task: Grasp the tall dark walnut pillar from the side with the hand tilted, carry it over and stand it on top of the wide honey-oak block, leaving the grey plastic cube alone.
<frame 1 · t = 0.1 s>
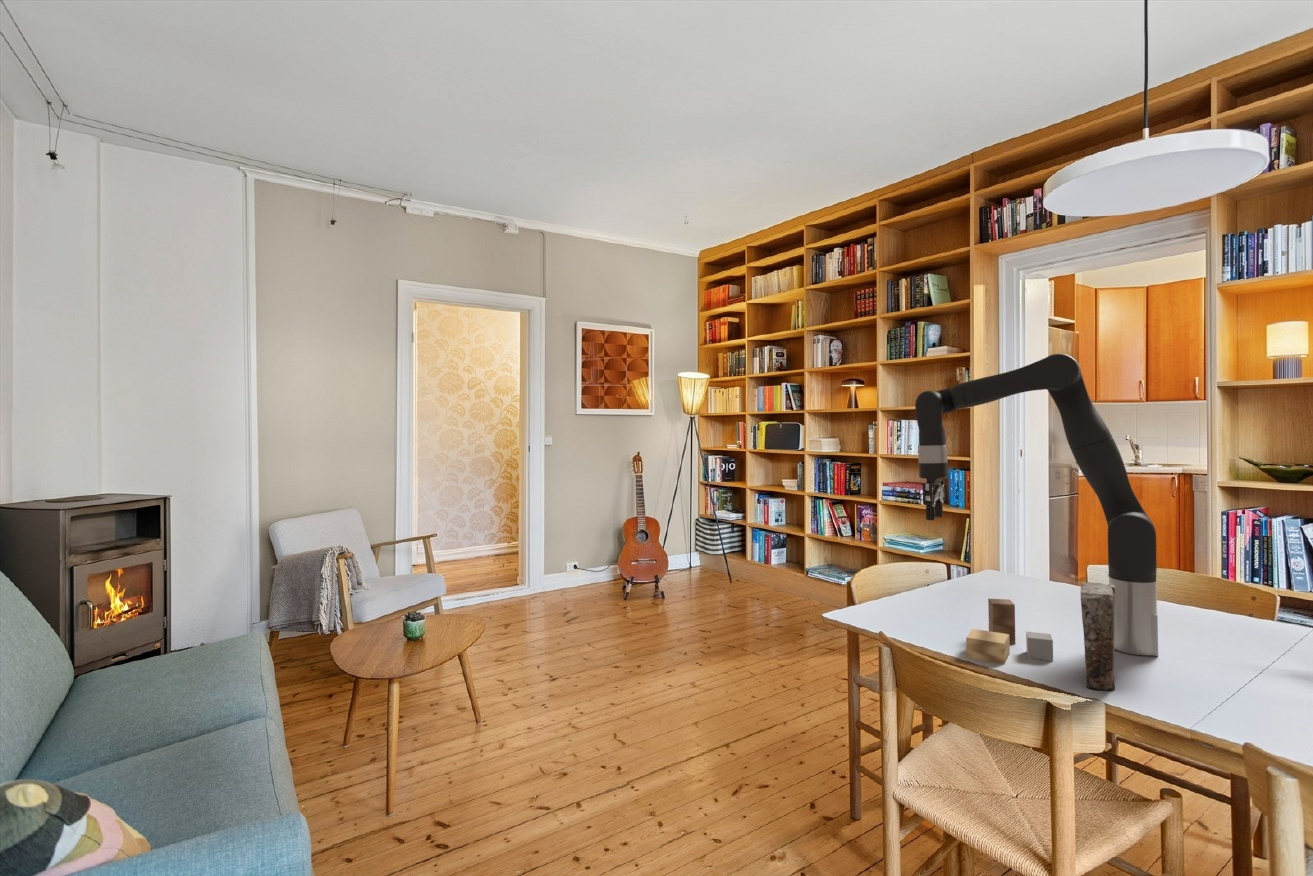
hand: (934, 518, 179), 29 cm above the table, tool pointing down, fingers open, 8 cm apart
oak block: (988, 656, 151), on the table
grey cube: (1039, 656, 150), on the table
stone block: (1100, 681, 135), on the table
walnut pillar: (1001, 640, 162), on the table
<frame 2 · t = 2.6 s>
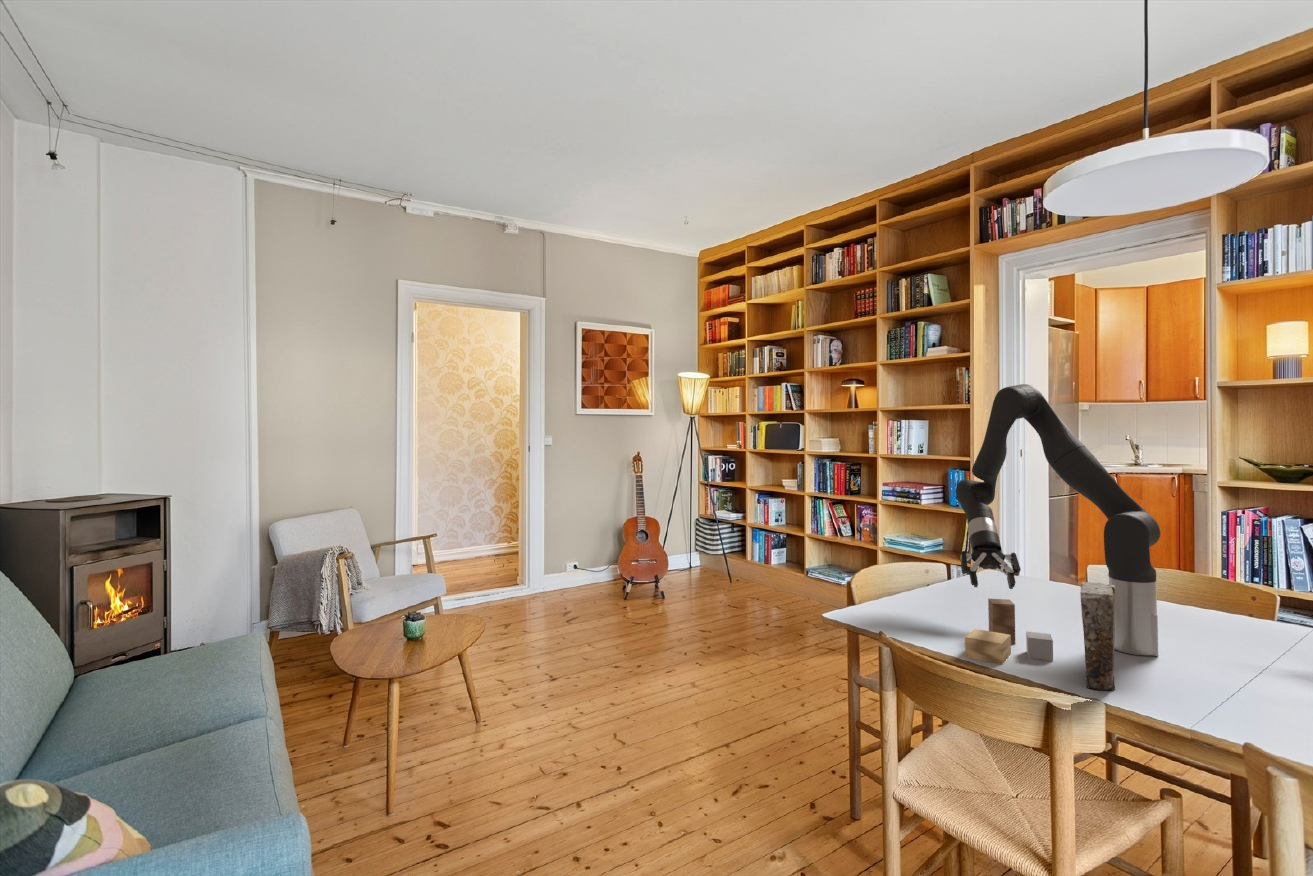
hand: (993, 586, 169), 12 cm above the table, tool tilted 45°, fingers open, 8 cm apart
nothing on the table moved.
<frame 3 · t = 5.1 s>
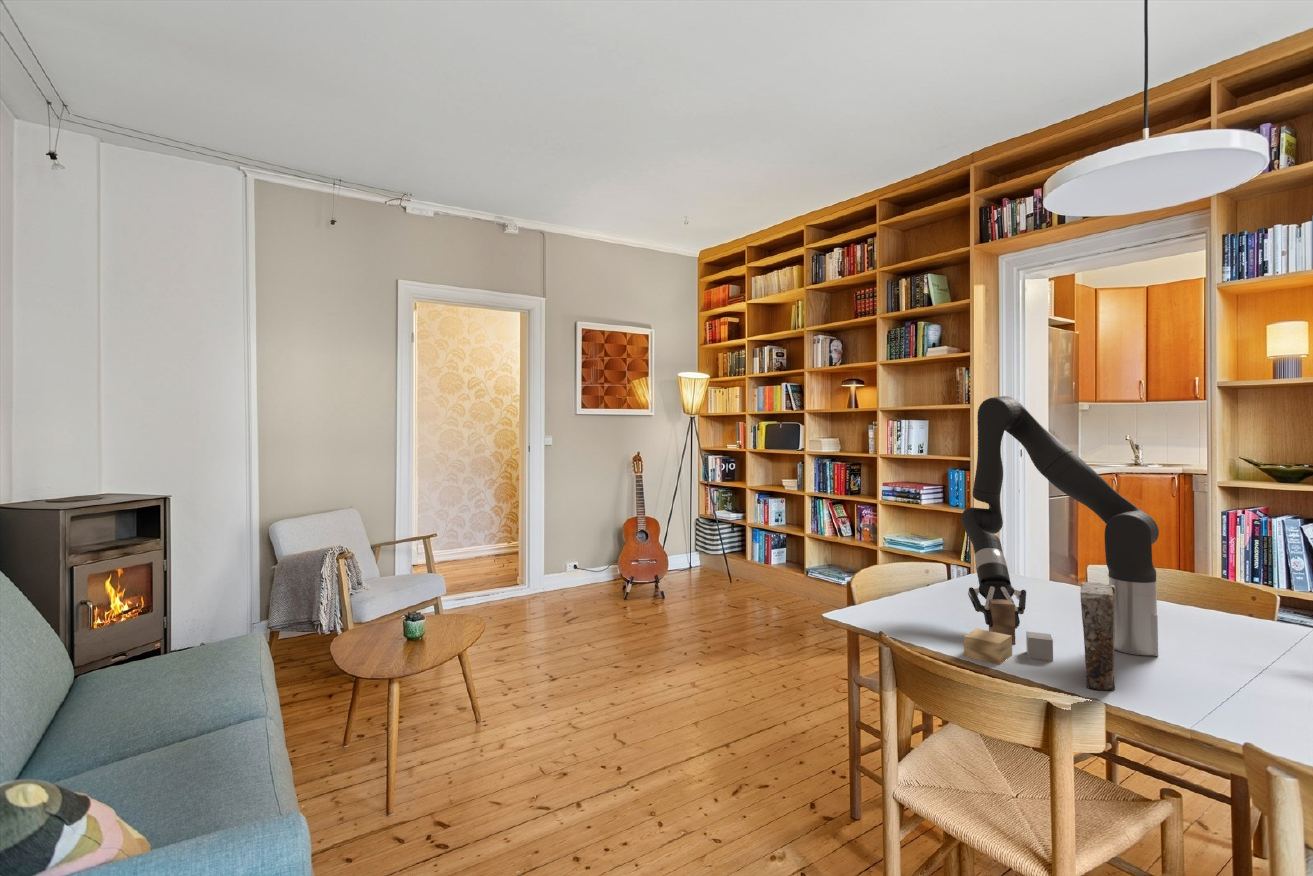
hand: (1003, 626, 160), 4 cm above the table, tool tilted 45°, fingers closed on walnut pillar, 5 cm apart
walnut pillar: (1001, 640, 162), on the table, touching gripper
everything else where it was.
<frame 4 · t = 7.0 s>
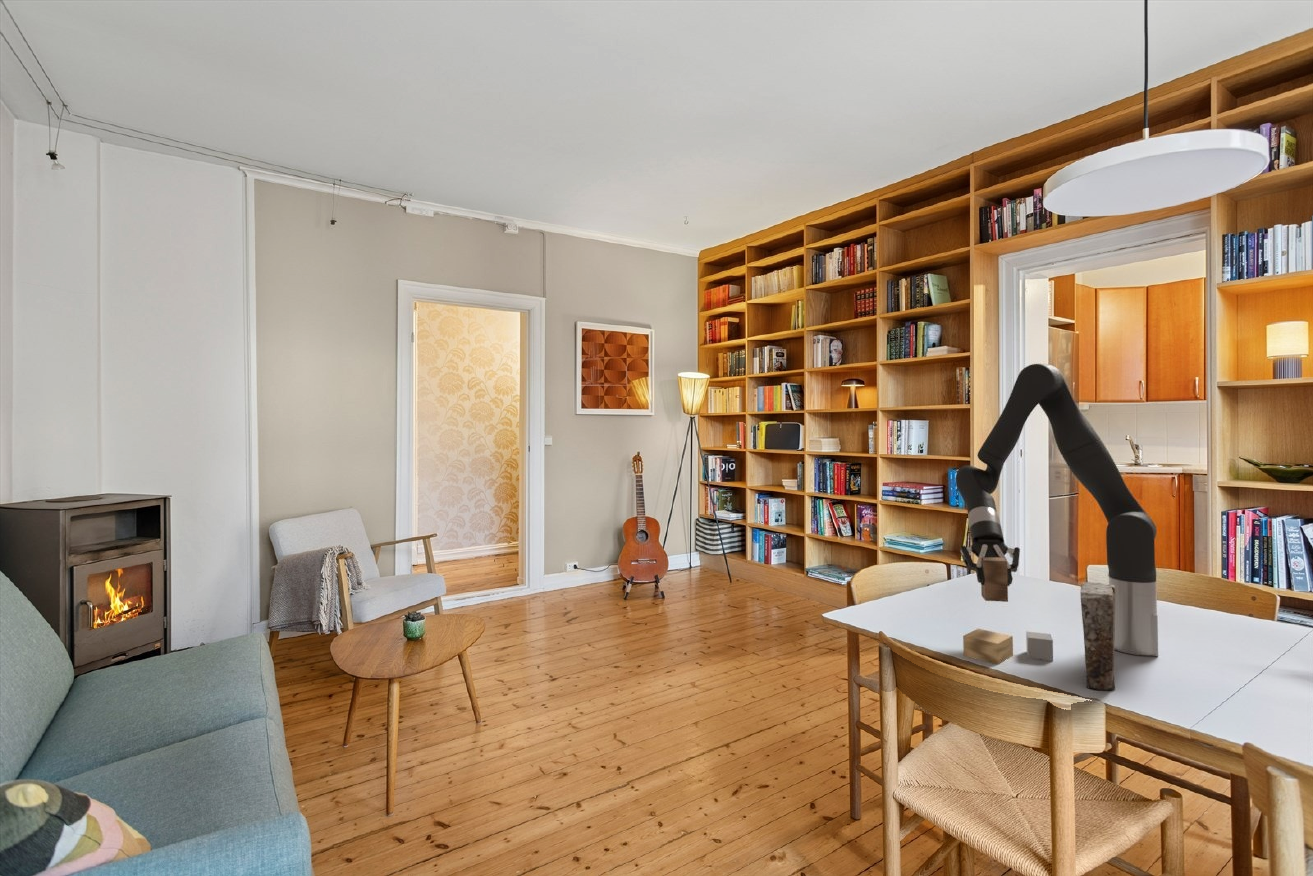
hand: (995, 583, 156), 16 cm above the table, tool tilted 45°, fingers closed on walnut pillar, 5 cm apart
walnut pillar: (994, 598, 158), point 12 cm above the table, touching gripper
everything else where it was.
when the fingers open (10 cm above the table, at t = 9.1 s): walnut pillar drops 1 cm, resting on oak block.
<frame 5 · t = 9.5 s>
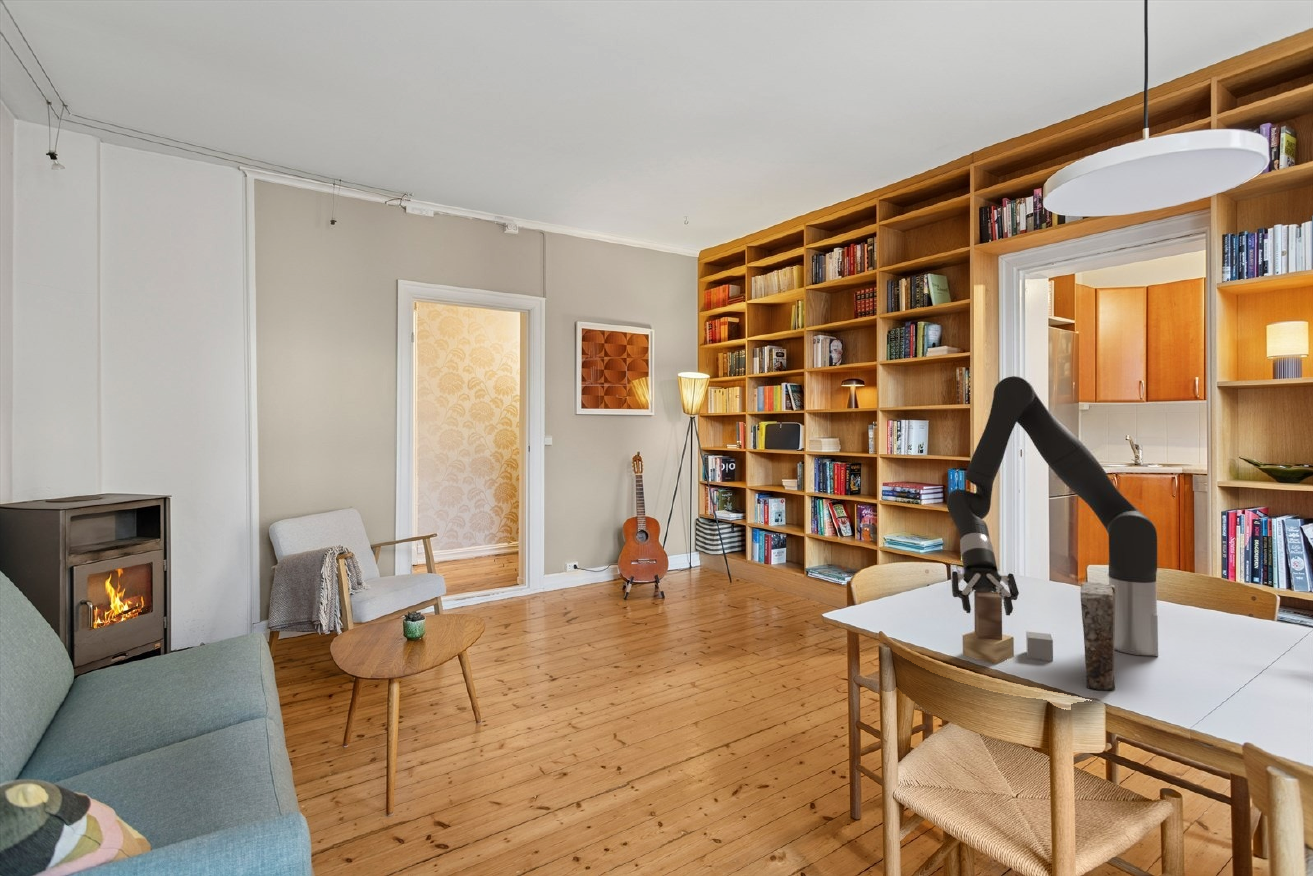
hand: (988, 612, 150), 11 cm above the table, tool tilted 45°, fingers open, 8 cm apart
oak block: (988, 657, 151), on the table, touching walnut pillar
walnut pillar: (988, 635, 151), point 5 cm above the table, touching oak block
everything else where it was.
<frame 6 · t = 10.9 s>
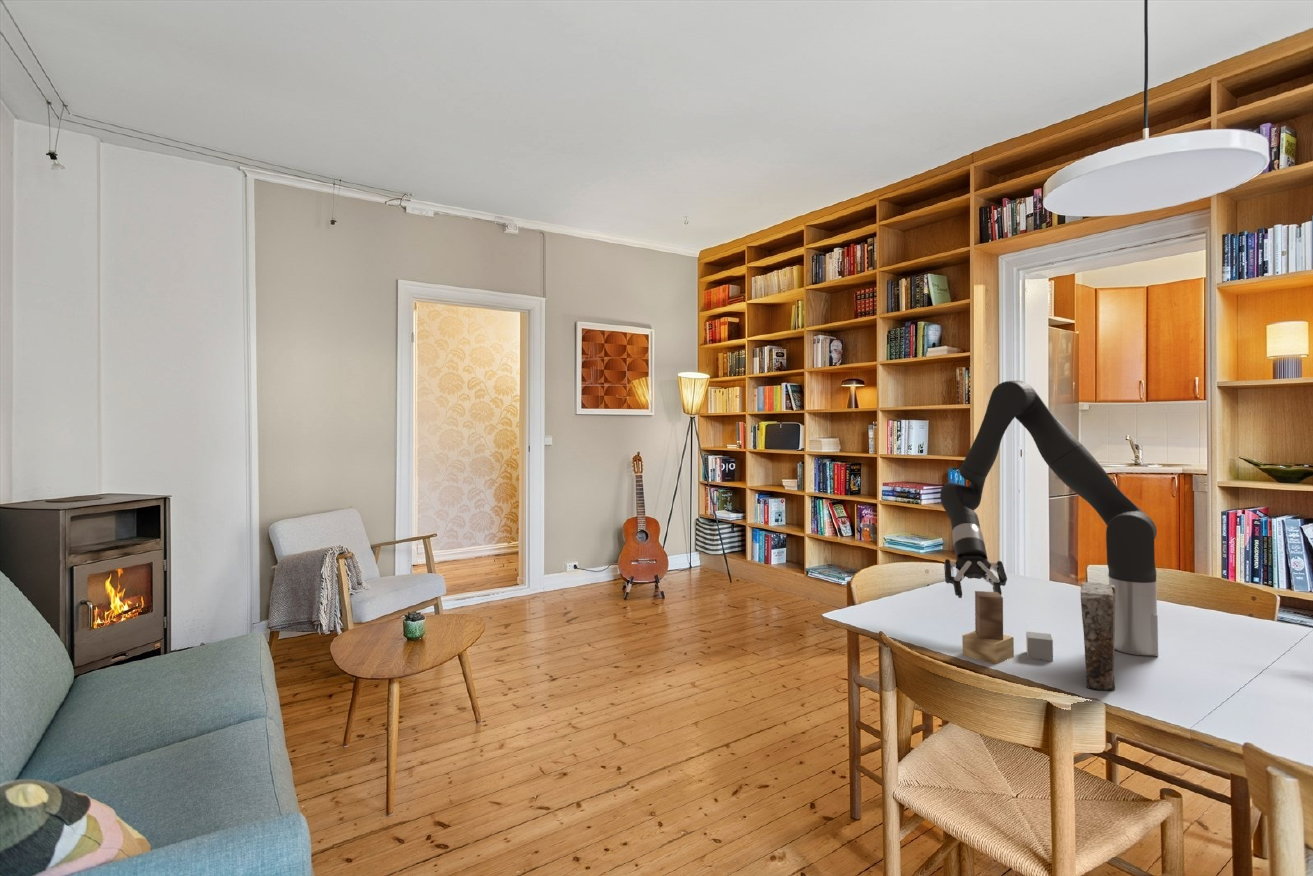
hand: (978, 597, 160), 12 cm above the table, tool tilted 45°, fingers open, 8 cm apart
nothing on the table moved.
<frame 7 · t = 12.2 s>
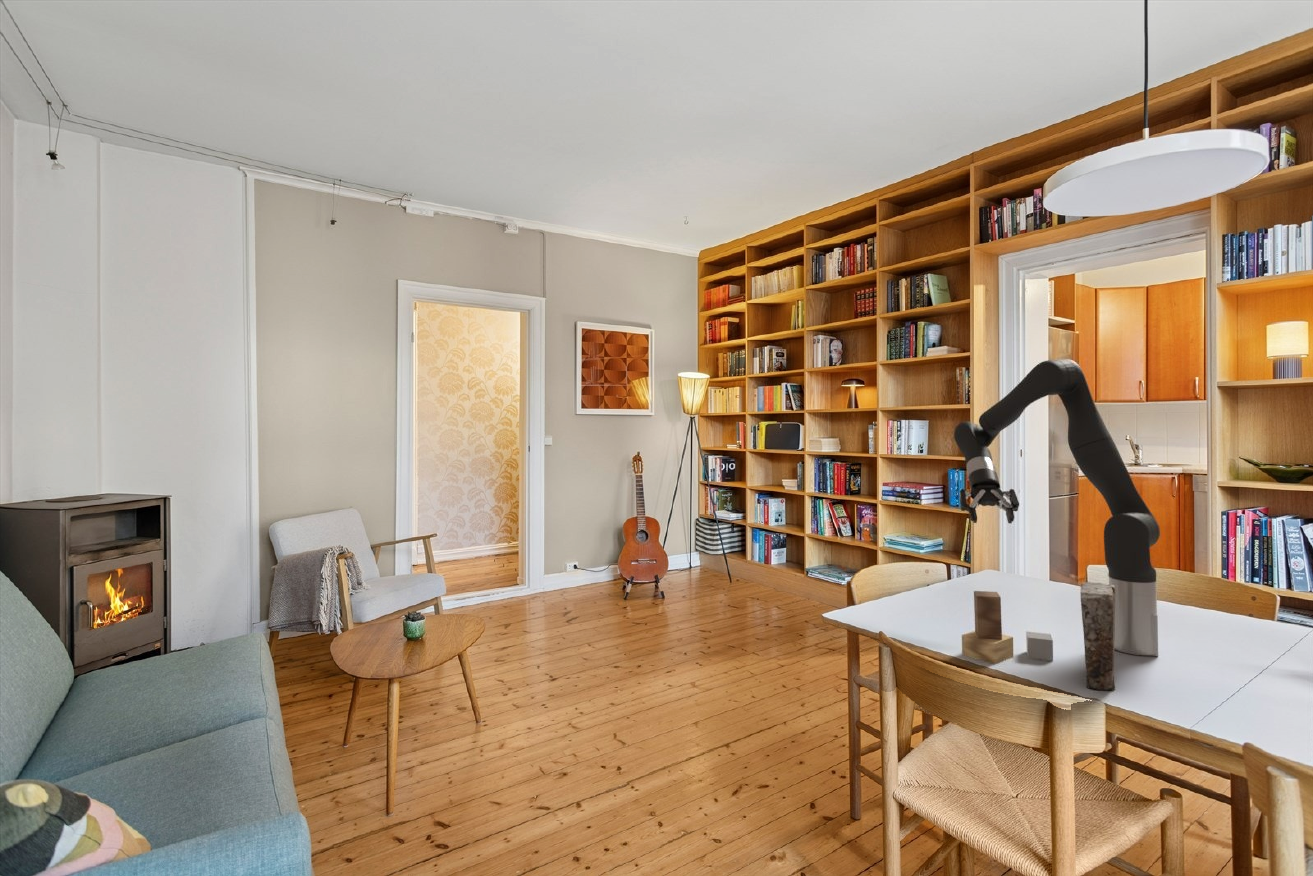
hand: (993, 521, 170), 29 cm above the table, tool tilted 45°, fingers open, 8 cm apart
nothing on the table moved.
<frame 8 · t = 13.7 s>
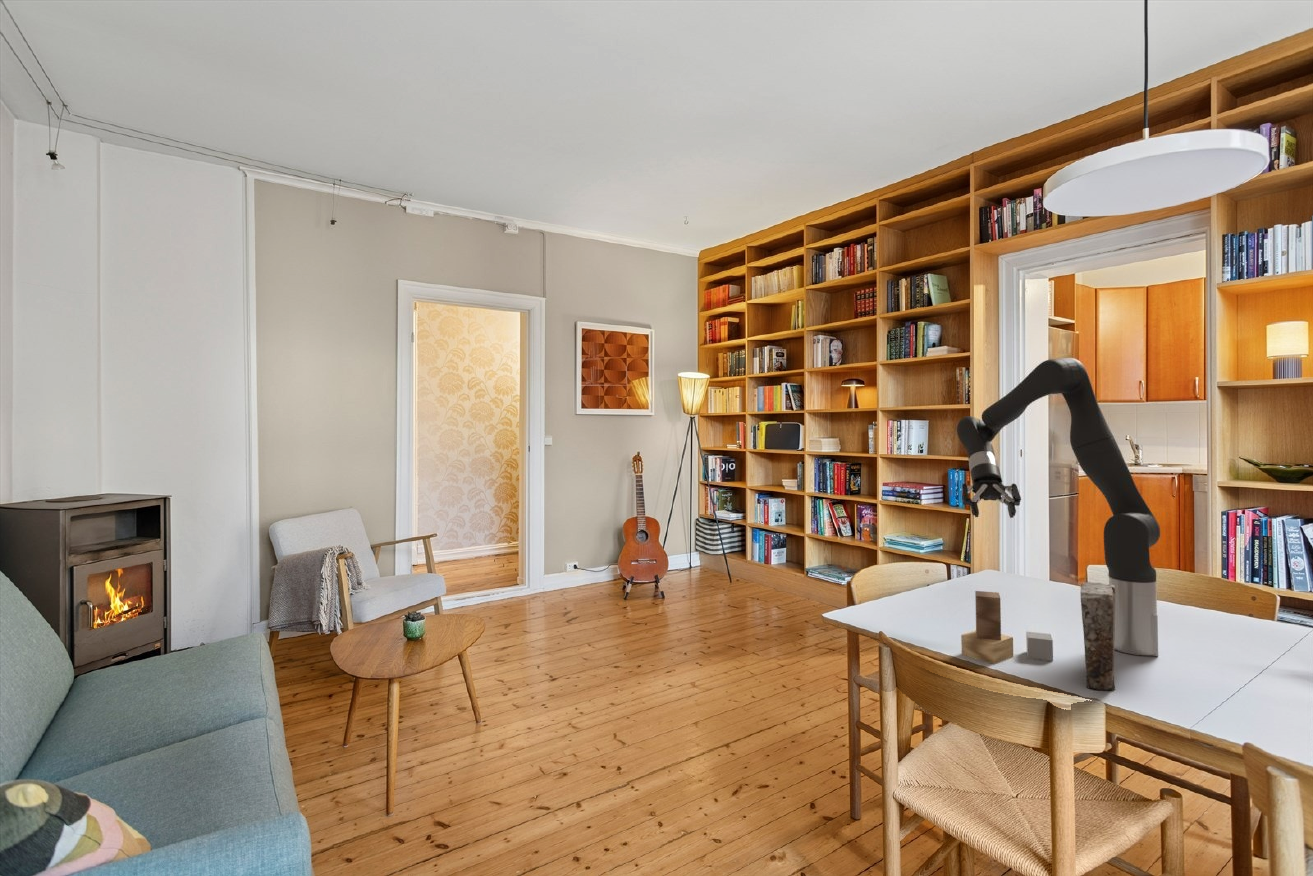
hand: (994, 515, 171), 31 cm above the table, tool tilted 45°, fingers open, 8 cm apart
nothing on the table moved.
at the end: walnut pillar 0.3 cm off-centre on the oak block, point 5.0 cm above the oak block's base; walnut pillar tilted 1°; the gripper is holding nothing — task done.
